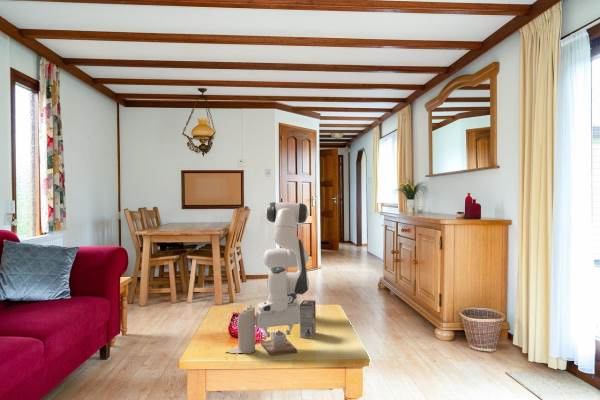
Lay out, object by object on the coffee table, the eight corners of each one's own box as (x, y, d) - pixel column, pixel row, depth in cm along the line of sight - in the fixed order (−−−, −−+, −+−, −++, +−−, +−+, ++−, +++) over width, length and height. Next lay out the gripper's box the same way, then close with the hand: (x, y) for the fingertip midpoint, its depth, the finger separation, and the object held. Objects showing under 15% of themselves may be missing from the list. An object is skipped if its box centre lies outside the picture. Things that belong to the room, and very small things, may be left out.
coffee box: (303, 331, 212) (303, 299, 212) (316, 332, 210) (315, 300, 210) (299, 337, 203) (299, 304, 203) (313, 338, 201) (312, 304, 201)
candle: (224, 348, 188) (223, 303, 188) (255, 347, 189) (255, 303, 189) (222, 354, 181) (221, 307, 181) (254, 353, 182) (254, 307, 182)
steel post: (275, 344, 189) (274, 330, 189) (280, 343, 189) (280, 329, 189) (276, 346, 186) (276, 331, 186) (281, 345, 187) (281, 330, 187)
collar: (270, 343, 190) (270, 332, 190) (282, 342, 191) (282, 331, 191) (274, 347, 184) (274, 336, 184) (286, 346, 186) (285, 334, 186)
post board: (261, 344, 193) (261, 341, 193) (286, 341, 197) (286, 338, 197) (269, 355, 179) (269, 352, 179) (296, 352, 183) (296, 348, 183)
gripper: (297, 300, 194) (297, 330, 194) (254, 304, 188) (254, 336, 188) (302, 304, 189) (302, 334, 189) (257, 308, 182) (257, 340, 182)
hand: (278, 335), depth 188 cm, fingers open, 8 cm apart
